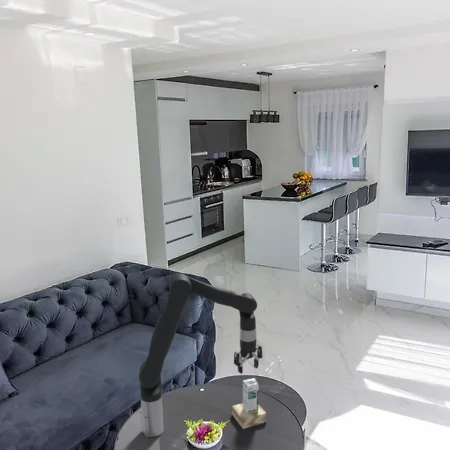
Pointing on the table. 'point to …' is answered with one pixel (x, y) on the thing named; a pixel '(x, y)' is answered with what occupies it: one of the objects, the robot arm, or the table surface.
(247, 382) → the syrup box
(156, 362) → the robot arm
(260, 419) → the birch block
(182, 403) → the table surface
